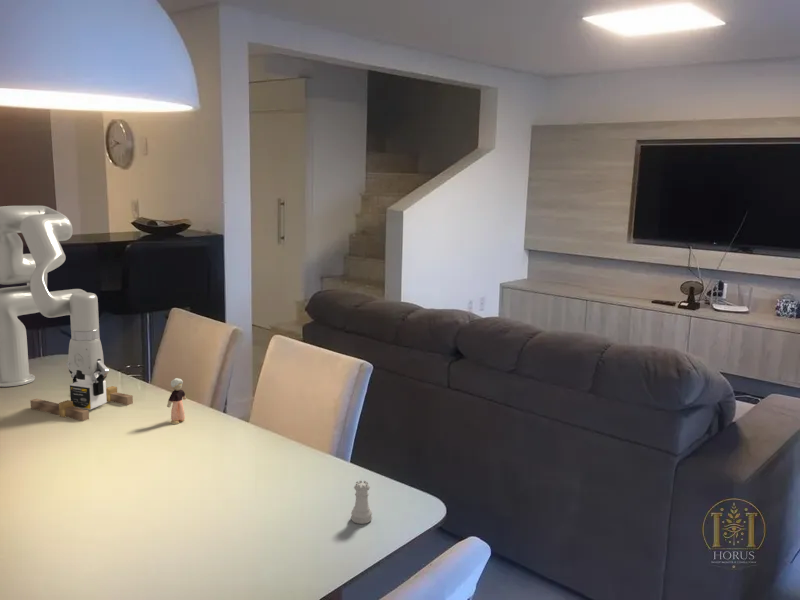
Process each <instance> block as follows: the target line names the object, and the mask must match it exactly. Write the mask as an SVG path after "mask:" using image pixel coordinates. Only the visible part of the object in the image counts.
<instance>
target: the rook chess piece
mask: <svg viewBox="0 0 800 600" xmlns="http://www.w3.org/2000/svg"><path fill="white" fill-rule="evenodd" d="M370 488H371V486H370V485H369V482H368V481H367V480H363V481H362V479H360V480H359V481H356V482H355V485H354V486H353V489H354V490H355V493H354V495H355V503H354V506H353V509H352V510H351V513H350V515H351V516H350V519H351V521H352V522H353V523H355V524H358V525H365V524H368V523H370V522H371V521H372V520H373V511H372V509H371V507H370V506H369V497H368V496H369V495H370V494H369V493H368V491H369V490H370Z"/></svg>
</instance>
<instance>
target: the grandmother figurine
mask: <svg viewBox="0 0 800 600" xmlns="http://www.w3.org/2000/svg"><path fill="white" fill-rule="evenodd" d="M183 382H184V381H183V380H182V379H181V378H179V377H176V378H174V379H172V380H171V382H170V386H171V388H172V389H173V390H172V391H171V394H170V396H169V398H168V401H167V405H166V407H167V408H171V412H170V413H171V414H170V422H169V423H170V424H171V425H178V424H180V423H182V422H184V421H185V419H186V414H185V409H184V404H183V401H185V400H187V397H186V392H185V391H184V390H183V389H182V387H183Z"/></svg>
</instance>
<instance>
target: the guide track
mask: <svg viewBox="0 0 800 600" xmlns="http://www.w3.org/2000/svg"><path fill="white" fill-rule="evenodd" d="M133 397H134V396H133V395H131V394H127V393H122V392H118V387H117V386H115V385H114V386H113V385H111V386H109V387H106V398H107V402H108V403H111V402H112V403H115V404H119V405H120V404H121V405H124V406H129V405H132V404H133V403H134V400H133ZM30 409H32V410H35V411H40V412H43V413H44V412H45V413H49V414H52V415H57V416H59V417H61V418H69V419H73V420H76V421H77V420H78V421H81V422H85V421H87V420H89V419H90V414H89V413H90V410H89V409H82V408H75V407H73V401H71V399H70V400H69V399H67V400H63V401H59V402H58V403H57V402H52V401H49V400H44V399H40V398H33V399H31V400H30Z"/></svg>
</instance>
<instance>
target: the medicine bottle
mask: <svg viewBox="0 0 800 600" xmlns="http://www.w3.org/2000/svg"><path fill="white" fill-rule="evenodd" d="M95 372H97V370H96V371H95ZM96 376H97V377H98V376H99V375H98V374H96ZM76 379H77V382H74V383H73V382H72V383H70V384H69V392H70V393H69V394H70V395H69V397H70V401H73V407H75V408H80V409H84V410H89V411H90V410H93V409H96V408H97V407H98V408H99V407H100V406H102V405H105V404H107V398H106V388H107V381H106V380H104V381H103V389H104V393H103V394H101V395H97V396H94V395H93V383H94V380H93V378H92V375H84V374H82V371H80V370H77V372H76Z"/></svg>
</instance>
